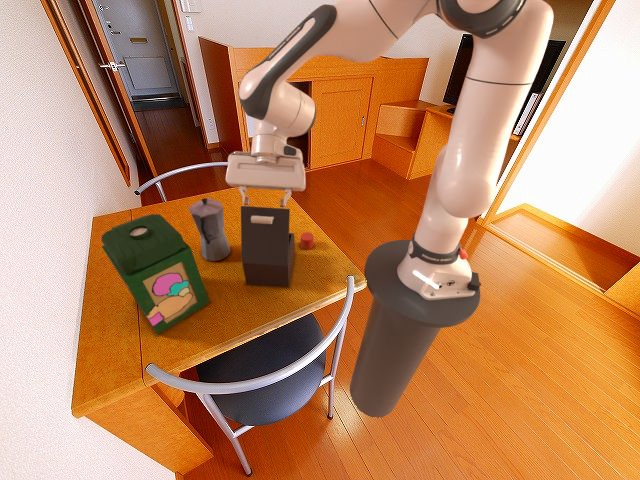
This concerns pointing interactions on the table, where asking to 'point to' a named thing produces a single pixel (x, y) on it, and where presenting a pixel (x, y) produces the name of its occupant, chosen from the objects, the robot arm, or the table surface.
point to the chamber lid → (265, 235)
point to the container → (156, 269)
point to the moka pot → (211, 228)
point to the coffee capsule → (307, 240)
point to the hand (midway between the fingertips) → (264, 205)
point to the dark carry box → (271, 270)
